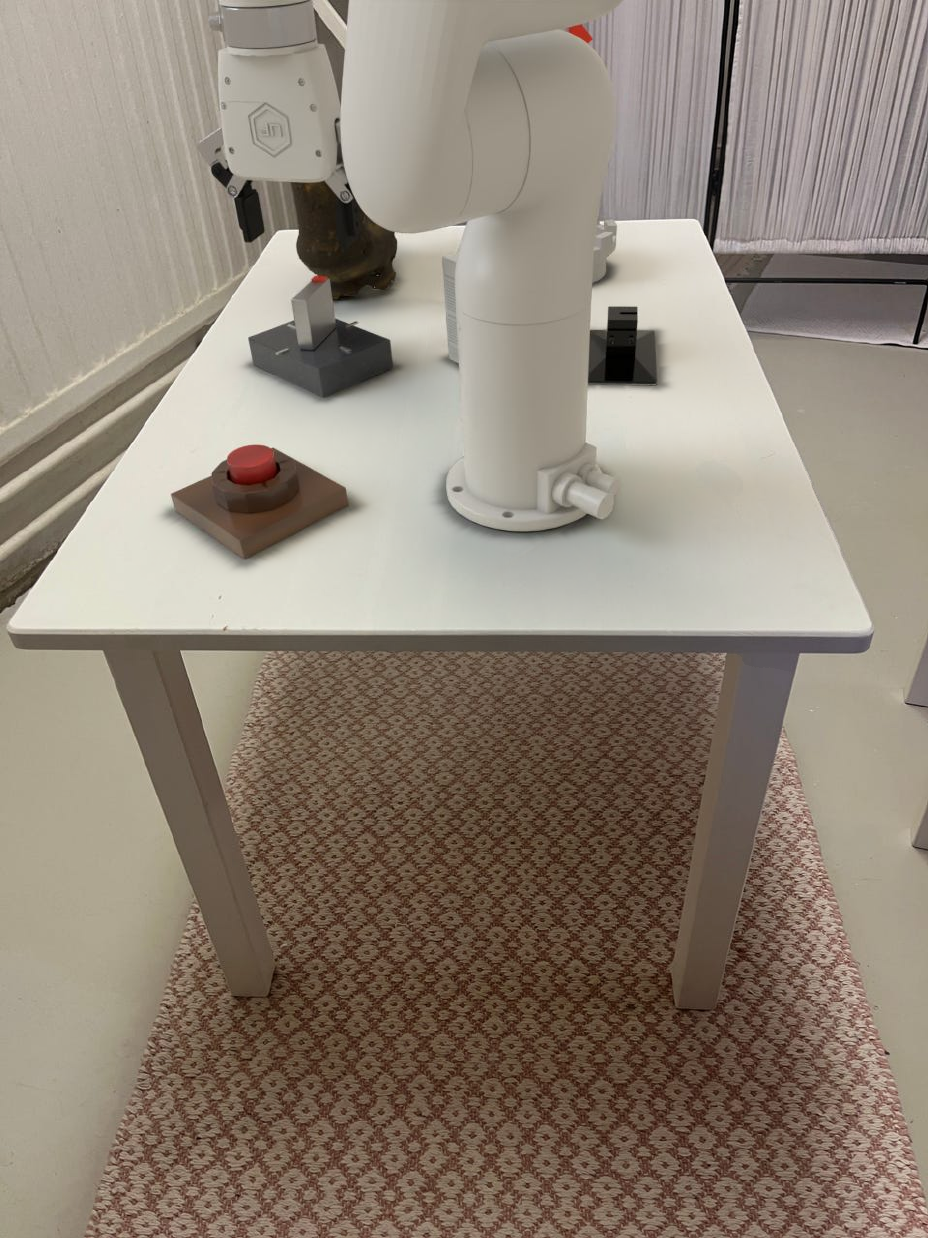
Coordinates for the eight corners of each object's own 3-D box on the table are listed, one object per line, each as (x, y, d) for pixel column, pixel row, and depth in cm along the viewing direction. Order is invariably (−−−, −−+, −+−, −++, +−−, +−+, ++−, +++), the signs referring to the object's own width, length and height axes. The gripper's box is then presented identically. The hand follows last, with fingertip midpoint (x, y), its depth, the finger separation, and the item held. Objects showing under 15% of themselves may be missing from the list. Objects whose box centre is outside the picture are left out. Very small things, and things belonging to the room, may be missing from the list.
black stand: (656, 386, 88) (660, 339, 85) (579, 385, 89) (581, 339, 86) (654, 332, 98) (657, 289, 95) (584, 332, 99) (586, 289, 96)
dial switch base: (398, 365, 95) (395, 336, 93) (318, 400, 89) (313, 369, 87) (326, 336, 101) (321, 307, 99) (248, 366, 96) (242, 337, 94)
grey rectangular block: (313, 350, 91) (305, 297, 88) (298, 349, 91) (290, 296, 88) (336, 326, 95) (329, 275, 92) (322, 325, 96) (314, 274, 92)
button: (286, 473, 73) (282, 454, 71) (248, 492, 71) (243, 472, 70) (260, 458, 75) (256, 439, 74) (222, 476, 73) (217, 456, 72)
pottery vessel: (329, 250, 124) (306, 81, 111) (409, 248, 123) (396, 77, 110) (291, 323, 105) (258, 129, 92) (386, 321, 104) (366, 124, 91)
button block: (348, 505, 74) (343, 467, 72) (244, 560, 69) (235, 520, 67) (276, 464, 80) (269, 427, 78) (175, 511, 75) (164, 474, 73)
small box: (507, 337, 99) (505, 235, 92) (541, 353, 95) (542, 248, 88) (446, 359, 95) (439, 254, 89) (479, 376, 92) (474, 269, 85)
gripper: (154, 35, 76) (200, 249, 87) (351, 35, 72) (373, 259, 83) (198, 21, 81) (236, 223, 92) (383, 20, 77) (400, 232, 88)
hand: (301, 240), depth 88 cm, fingers open, 9 cm apart
